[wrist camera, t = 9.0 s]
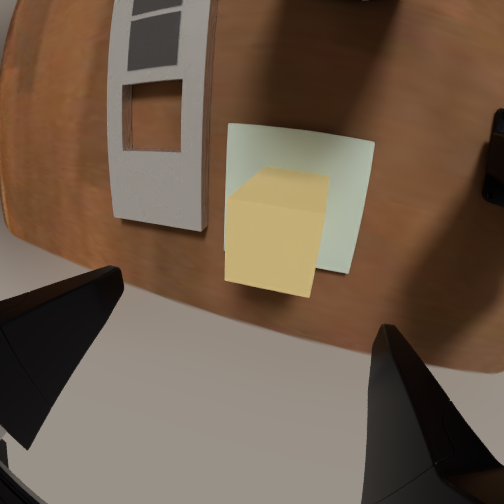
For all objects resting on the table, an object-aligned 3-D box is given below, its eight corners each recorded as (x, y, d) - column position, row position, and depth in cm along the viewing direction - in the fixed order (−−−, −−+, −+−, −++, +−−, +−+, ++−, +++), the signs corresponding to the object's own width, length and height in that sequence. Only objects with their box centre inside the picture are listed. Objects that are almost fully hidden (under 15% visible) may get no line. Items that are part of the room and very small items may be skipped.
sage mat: (373, 141, 16) (374, 142, 16) (348, 269, 20) (348, 273, 20) (231, 123, 18) (228, 123, 17) (226, 246, 22) (223, 250, 22)
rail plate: (222, -39, 12) (215, -46, 11) (208, 225, 22) (200, 232, 21) (127, -17, 14) (117, -21, 13) (122, 211, 23) (113, 217, 22)
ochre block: (329, 175, 17) (325, 214, 11) (319, 235, 19) (309, 297, 13) (265, 166, 18) (226, 198, 12) (260, 224, 20) (224, 280, 14)
